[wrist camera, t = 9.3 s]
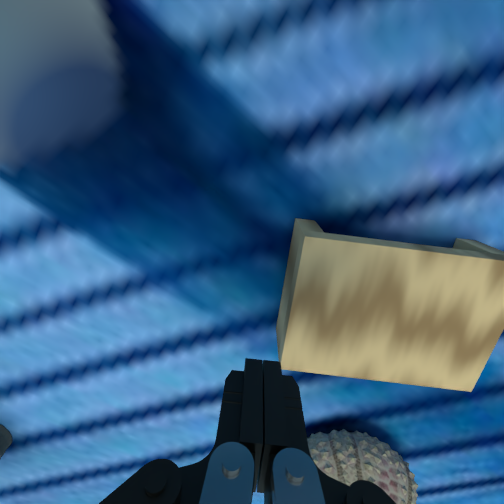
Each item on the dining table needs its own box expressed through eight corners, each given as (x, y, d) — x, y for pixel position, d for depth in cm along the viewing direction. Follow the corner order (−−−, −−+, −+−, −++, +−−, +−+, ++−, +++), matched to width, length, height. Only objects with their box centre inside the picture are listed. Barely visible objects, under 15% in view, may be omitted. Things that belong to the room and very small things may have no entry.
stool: (304, 236, 16) (536, 264, 16) (295, 218, 21) (474, 240, 21) (279, 368, 20) (471, 391, 20) (276, 327, 24) (430, 346, 24)
